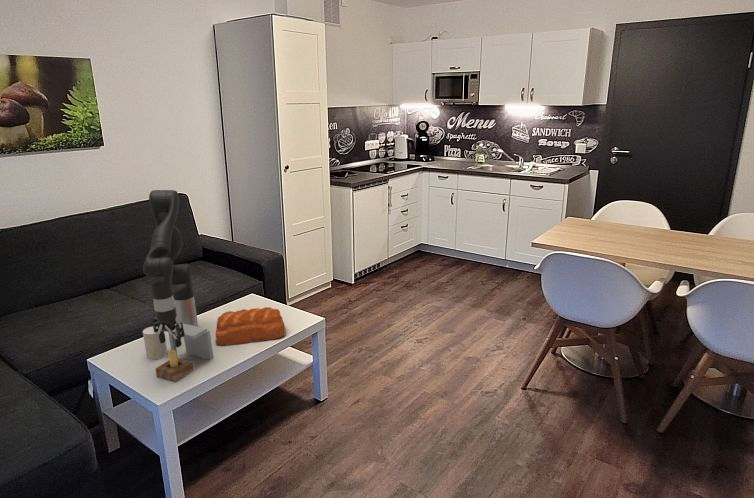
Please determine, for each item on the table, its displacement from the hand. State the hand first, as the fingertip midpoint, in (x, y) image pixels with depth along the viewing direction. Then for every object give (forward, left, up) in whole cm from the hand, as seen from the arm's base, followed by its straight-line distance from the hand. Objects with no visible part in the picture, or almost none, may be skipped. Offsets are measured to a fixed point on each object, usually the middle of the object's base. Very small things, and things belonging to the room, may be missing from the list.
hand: (170, 344), depth 200 cm
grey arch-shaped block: (-2, +11, -13) cm, 17 cm away
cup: (-20, +8, -13) cm, 25 cm away
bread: (+6, +40, -14) cm, 42 cm away
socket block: (0, 0, -13) cm, 13 cm away
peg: (0, 0, -13) cm, 13 cm away
